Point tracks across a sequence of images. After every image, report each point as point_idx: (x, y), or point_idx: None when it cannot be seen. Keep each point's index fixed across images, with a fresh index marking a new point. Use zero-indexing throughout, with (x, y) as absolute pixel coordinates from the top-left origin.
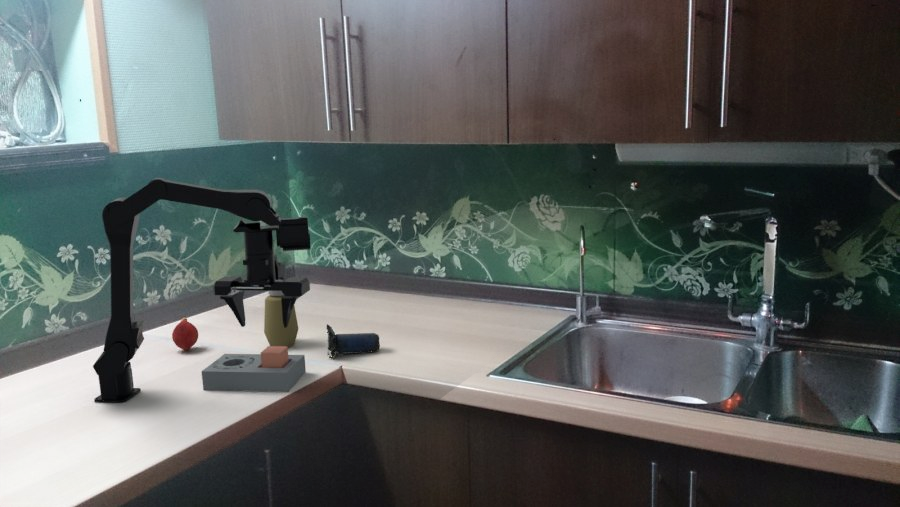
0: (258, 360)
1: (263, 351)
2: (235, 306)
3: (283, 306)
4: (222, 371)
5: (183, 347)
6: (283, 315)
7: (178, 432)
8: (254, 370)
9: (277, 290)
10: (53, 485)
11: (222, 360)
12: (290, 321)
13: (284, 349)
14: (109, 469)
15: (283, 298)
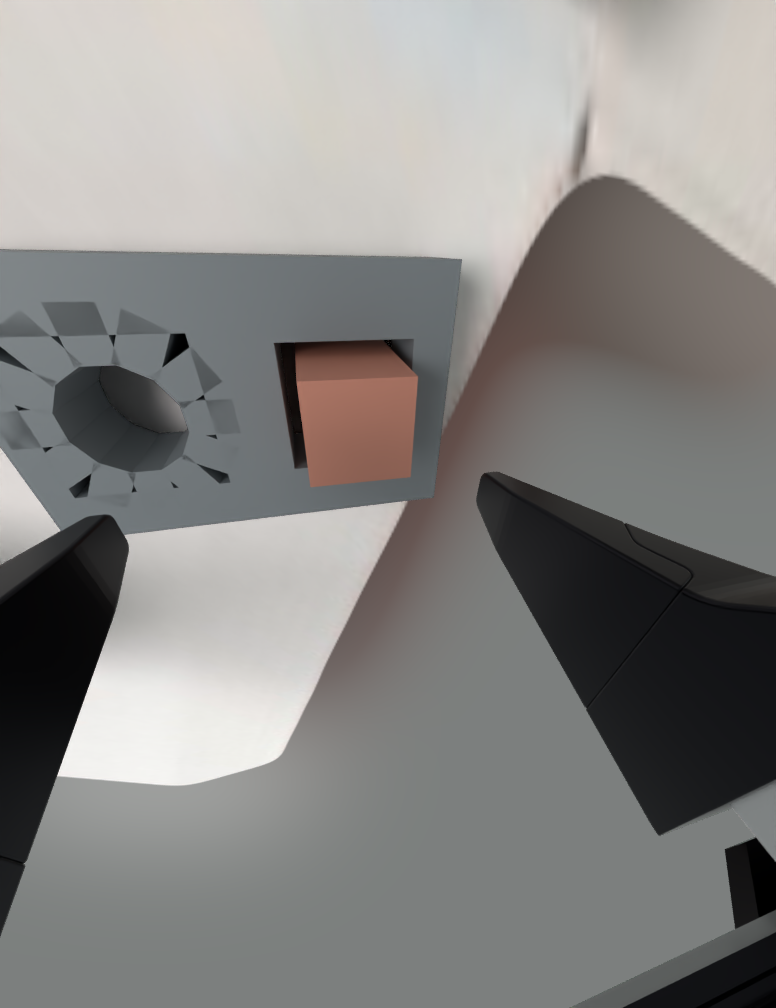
0: (242, 378)
1: (316, 470)
2: (27, 847)
3: (601, 706)
4: (172, 528)
5: None
6: (536, 605)
7: (265, 663)
8: (302, 498)
9: (721, 947)
10: (210, 765)
11: (17, 400)
12: None
13: (413, 421)
14: (250, 735)
15: (676, 821)
